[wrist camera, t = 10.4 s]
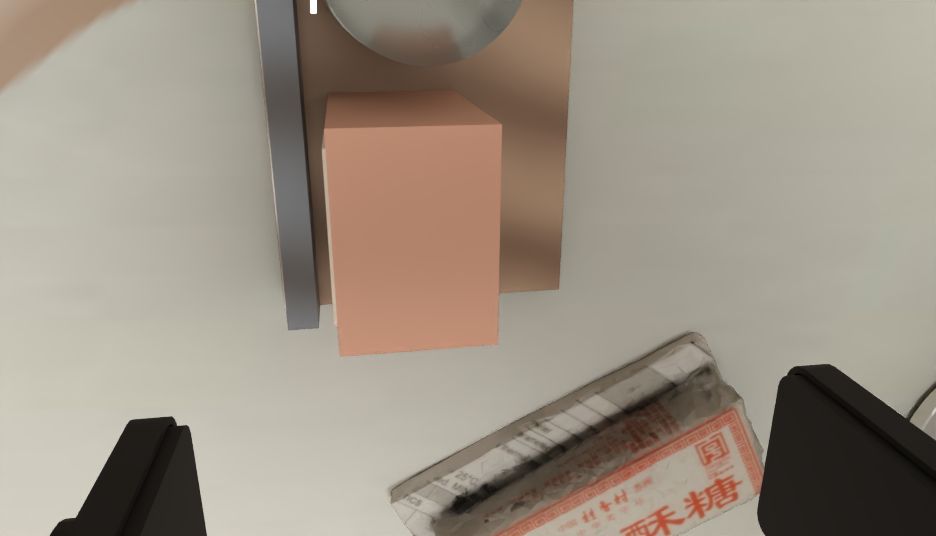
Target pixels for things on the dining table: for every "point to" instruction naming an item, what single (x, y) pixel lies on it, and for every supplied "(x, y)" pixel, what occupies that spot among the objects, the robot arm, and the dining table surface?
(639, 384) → the packaged product
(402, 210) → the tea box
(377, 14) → the tin
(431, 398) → the dining table surface
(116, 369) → the dining table surface
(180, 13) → the dining table surface
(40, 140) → the dining table surface
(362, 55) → the shelf board
